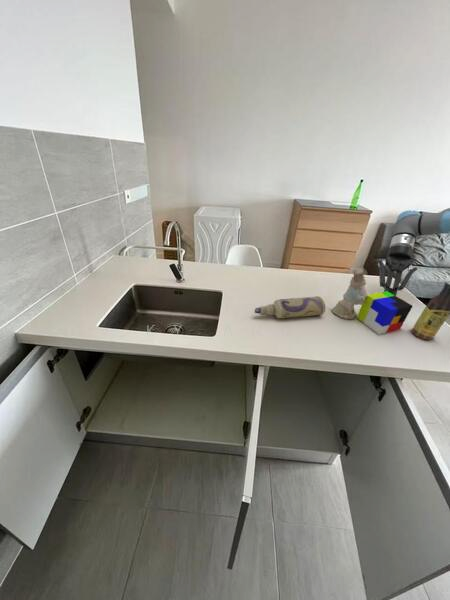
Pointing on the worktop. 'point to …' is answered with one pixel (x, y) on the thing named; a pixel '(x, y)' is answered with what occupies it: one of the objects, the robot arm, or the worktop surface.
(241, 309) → the worktop surface
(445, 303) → the sauce bottle
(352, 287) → the figurine
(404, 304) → the puzzle toy
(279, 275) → the worktop surface
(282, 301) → the decorative bottle
